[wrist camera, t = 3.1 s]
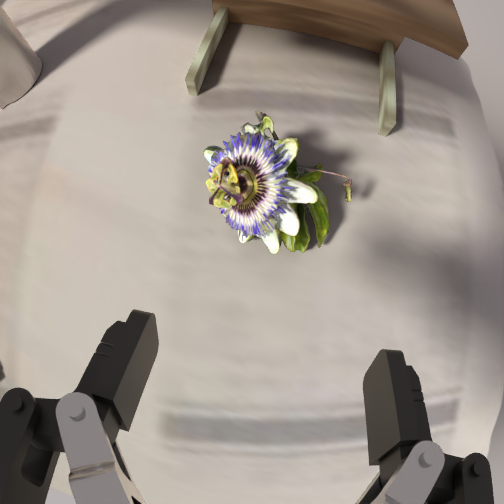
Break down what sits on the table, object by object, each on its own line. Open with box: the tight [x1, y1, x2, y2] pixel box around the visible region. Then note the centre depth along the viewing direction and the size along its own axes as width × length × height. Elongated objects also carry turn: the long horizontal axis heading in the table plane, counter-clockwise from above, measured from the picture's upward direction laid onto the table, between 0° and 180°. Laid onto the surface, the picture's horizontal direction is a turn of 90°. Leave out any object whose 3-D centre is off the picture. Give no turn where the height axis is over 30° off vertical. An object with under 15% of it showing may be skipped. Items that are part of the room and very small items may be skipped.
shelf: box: [185, 0, 468, 136], centre depth 26 cm, size 16×25×17 cm, turn 78°
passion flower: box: [203, 111, 352, 254], centre depth 28 cm, size 11×11×12 cm
